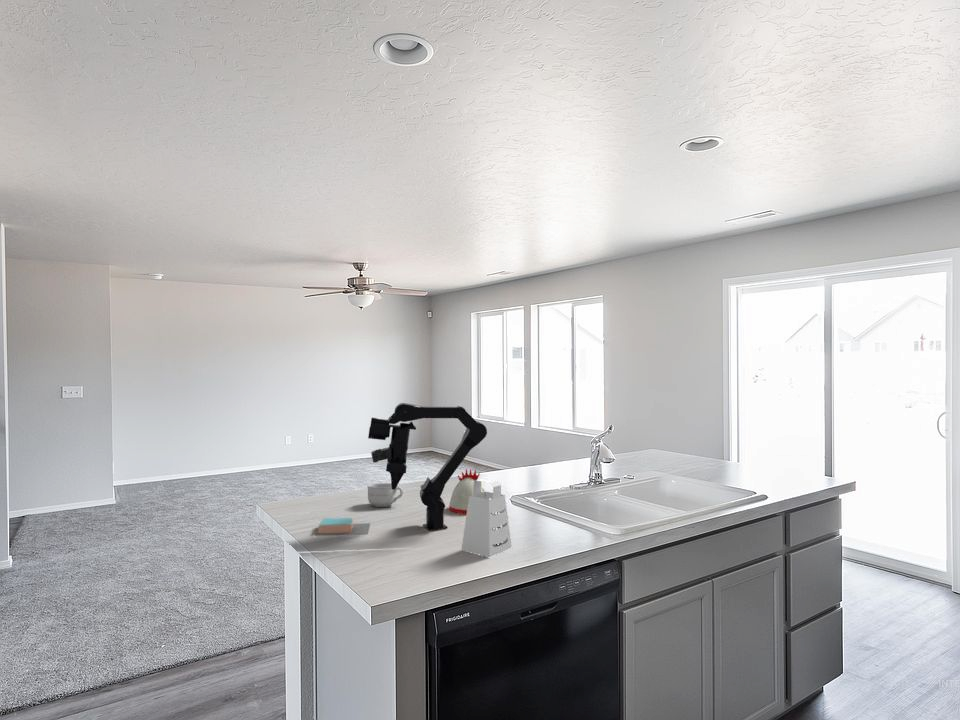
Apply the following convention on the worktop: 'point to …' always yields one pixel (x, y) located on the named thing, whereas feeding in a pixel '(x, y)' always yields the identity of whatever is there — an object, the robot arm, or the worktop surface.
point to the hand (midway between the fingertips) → (393, 489)
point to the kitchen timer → (463, 493)
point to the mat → (356, 530)
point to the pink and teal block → (335, 525)
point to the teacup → (382, 494)
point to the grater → (486, 521)
